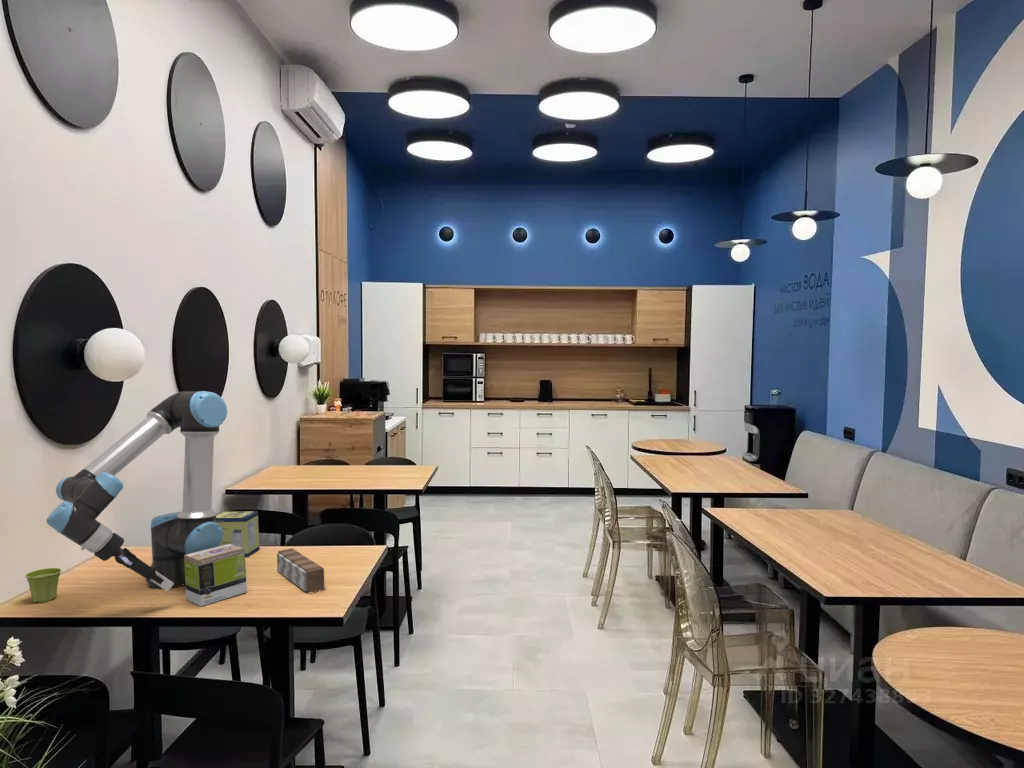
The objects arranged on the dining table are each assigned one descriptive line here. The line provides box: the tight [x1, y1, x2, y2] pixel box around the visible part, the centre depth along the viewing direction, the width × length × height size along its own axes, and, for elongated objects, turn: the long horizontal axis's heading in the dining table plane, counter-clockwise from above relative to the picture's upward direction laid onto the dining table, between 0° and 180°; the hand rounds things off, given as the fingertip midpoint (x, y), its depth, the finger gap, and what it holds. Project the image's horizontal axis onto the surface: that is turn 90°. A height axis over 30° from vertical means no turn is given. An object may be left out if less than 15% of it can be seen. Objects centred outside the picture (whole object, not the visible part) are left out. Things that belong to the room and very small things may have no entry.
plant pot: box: [24, 567, 63, 603], centre depth 202 cm, size 9×9×9 cm
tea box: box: [184, 544, 248, 607], centre depth 201 cm, size 15×10×15 cm, turn 141°
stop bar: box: [276, 548, 325, 594], centre depth 215 cm, size 30×6×7 cm, turn 38°
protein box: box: [216, 510, 260, 558], centre depth 248 cm, size 10×16×16 cm
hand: (170, 586), depth 193 cm, fingers closed
